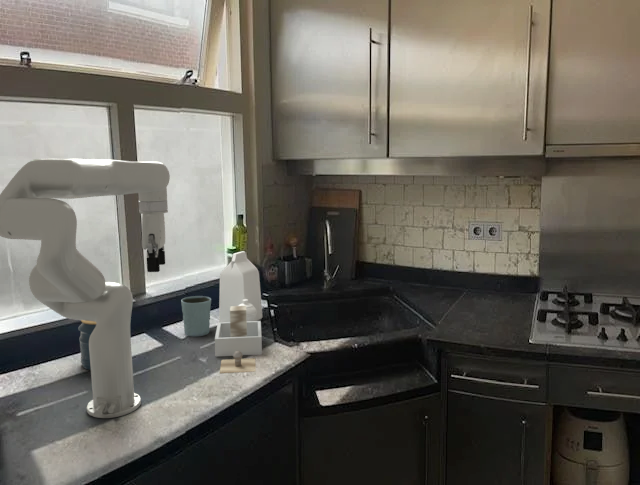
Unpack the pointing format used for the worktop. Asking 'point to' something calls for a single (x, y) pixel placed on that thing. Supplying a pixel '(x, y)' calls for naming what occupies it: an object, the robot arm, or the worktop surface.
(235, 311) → the strut
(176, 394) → the worktop surface
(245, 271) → the milk
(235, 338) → the bin
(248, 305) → the spinning top
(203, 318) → the teal cup
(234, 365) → the square lid with knob
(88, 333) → the canister
